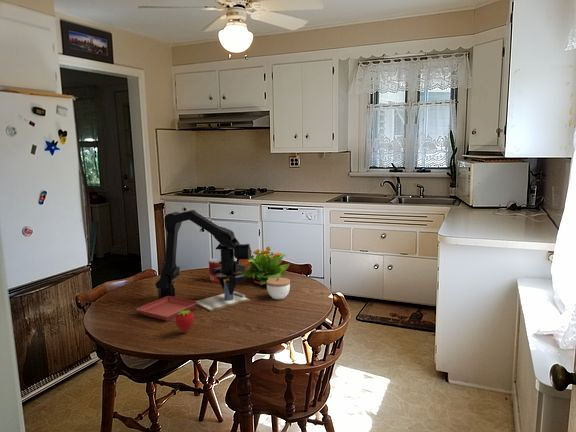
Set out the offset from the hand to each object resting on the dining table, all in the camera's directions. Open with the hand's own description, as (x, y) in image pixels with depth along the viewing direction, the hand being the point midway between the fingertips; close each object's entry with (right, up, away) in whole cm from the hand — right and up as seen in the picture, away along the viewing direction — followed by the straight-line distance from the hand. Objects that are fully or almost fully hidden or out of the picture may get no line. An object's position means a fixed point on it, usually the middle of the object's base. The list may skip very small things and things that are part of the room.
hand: (228, 293), depth 196 cm
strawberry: (-11, -9, -33) cm, 36 cm away
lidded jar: (+22, -3, +4) cm, 23 cm away
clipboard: (-3, -4, 0) cm, 5 cm away
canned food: (-10, +1, +32) cm, 34 cm away
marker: (0, -3, 0) cm, 3 cm away
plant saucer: (-24, -6, -11) cm, 27 cm away
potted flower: (+13, +1, +30) cm, 32 cm away
